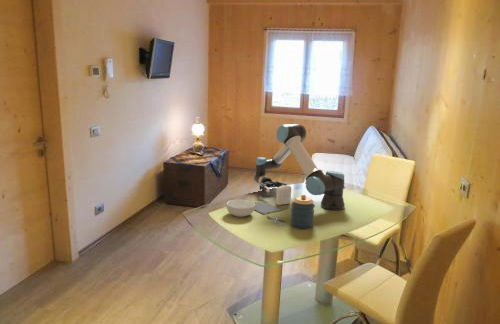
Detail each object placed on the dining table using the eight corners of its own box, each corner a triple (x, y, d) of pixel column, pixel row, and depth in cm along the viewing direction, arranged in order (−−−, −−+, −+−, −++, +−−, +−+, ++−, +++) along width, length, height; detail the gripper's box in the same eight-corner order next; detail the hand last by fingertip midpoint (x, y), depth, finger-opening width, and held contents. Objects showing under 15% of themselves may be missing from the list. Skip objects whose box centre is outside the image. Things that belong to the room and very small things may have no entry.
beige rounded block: (287, 201, 257) (288, 183, 255) (291, 203, 254) (292, 185, 251) (275, 203, 252) (276, 185, 249) (279, 205, 248) (280, 187, 246)
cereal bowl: (235, 221, 218) (235, 209, 216) (221, 212, 232) (221, 201, 230) (260, 217, 227) (260, 205, 225) (245, 208, 240) (245, 197, 239)
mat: (282, 210, 239) (282, 209, 239) (263, 214, 231) (263, 213, 231) (262, 201, 255) (262, 200, 255) (244, 205, 246) (244, 204, 246)
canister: (290, 219, 224) (291, 190, 220) (312, 221, 223) (314, 192, 219) (290, 228, 211) (291, 197, 207) (313, 229, 210) (316, 198, 206)
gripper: (280, 185, 284) (294, 193, 265) (249, 187, 275) (260, 196, 256) (281, 175, 282) (294, 183, 263) (249, 177, 273) (261, 185, 254)
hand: (278, 189), depth 259 cm, fingers open, 13 cm apart
